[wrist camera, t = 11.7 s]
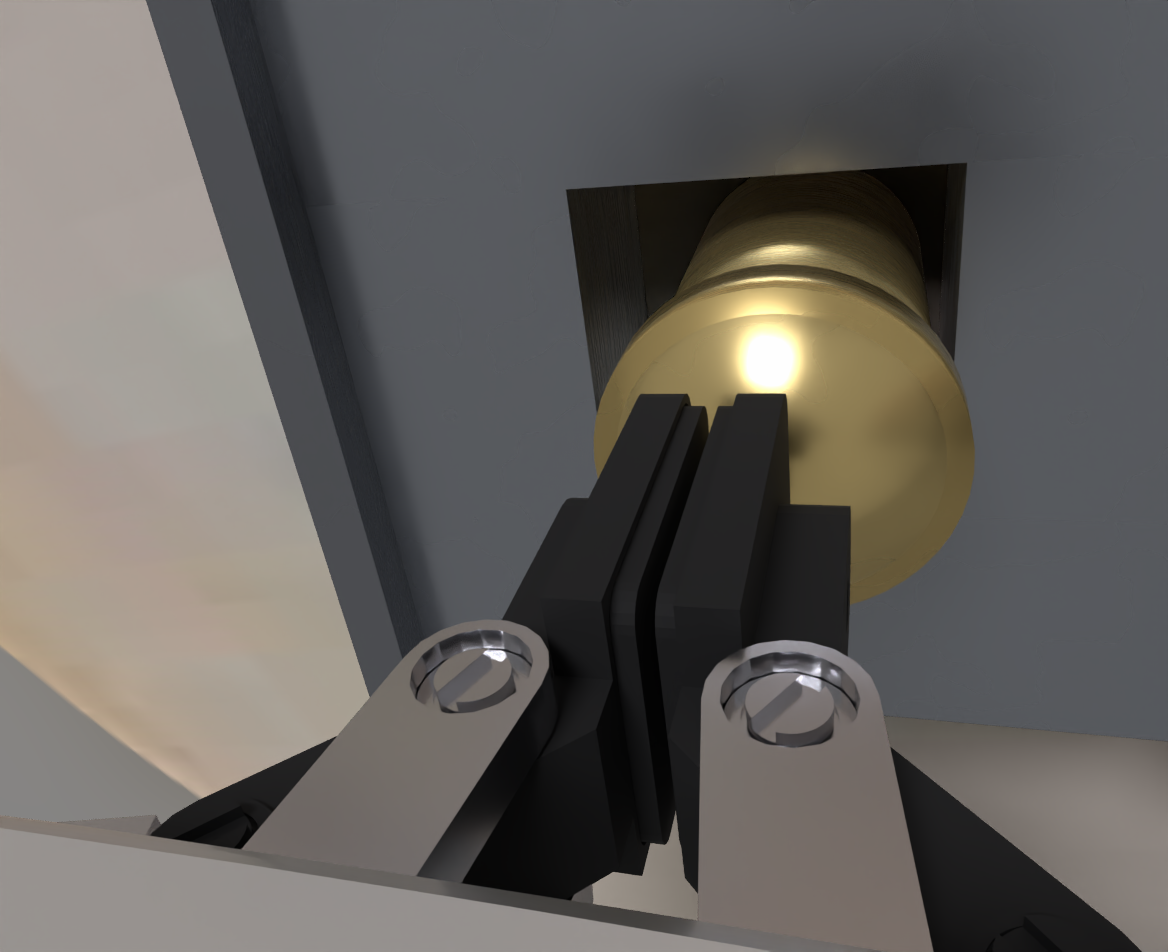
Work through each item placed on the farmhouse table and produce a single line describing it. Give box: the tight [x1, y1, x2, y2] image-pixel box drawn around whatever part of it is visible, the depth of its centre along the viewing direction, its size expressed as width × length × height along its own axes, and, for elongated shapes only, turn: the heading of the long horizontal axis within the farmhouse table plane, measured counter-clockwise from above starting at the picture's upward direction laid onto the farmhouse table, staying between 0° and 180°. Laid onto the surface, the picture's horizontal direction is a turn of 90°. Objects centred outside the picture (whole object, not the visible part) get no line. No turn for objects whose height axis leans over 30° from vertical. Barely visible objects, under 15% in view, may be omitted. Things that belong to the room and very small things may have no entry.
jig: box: [146, 0, 1168, 741], centre depth 16 cm, size 14×16×5 cm
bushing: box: [594, 170, 975, 605], centre depth 15 cm, size 5×5×7 cm
